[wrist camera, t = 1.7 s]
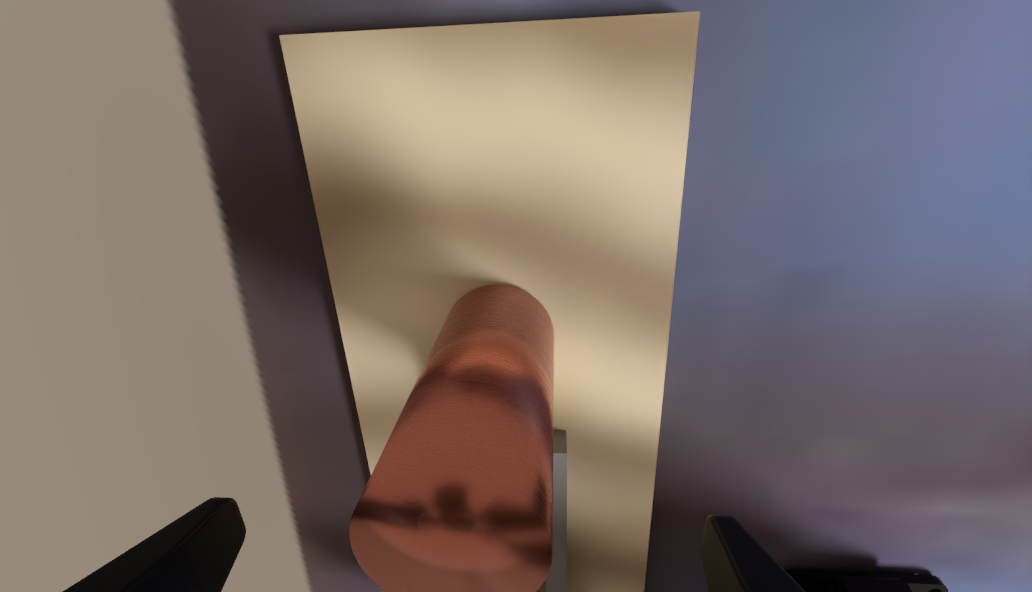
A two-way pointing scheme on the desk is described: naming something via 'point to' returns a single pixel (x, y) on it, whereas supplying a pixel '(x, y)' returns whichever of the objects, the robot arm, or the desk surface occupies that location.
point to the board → (513, 230)
